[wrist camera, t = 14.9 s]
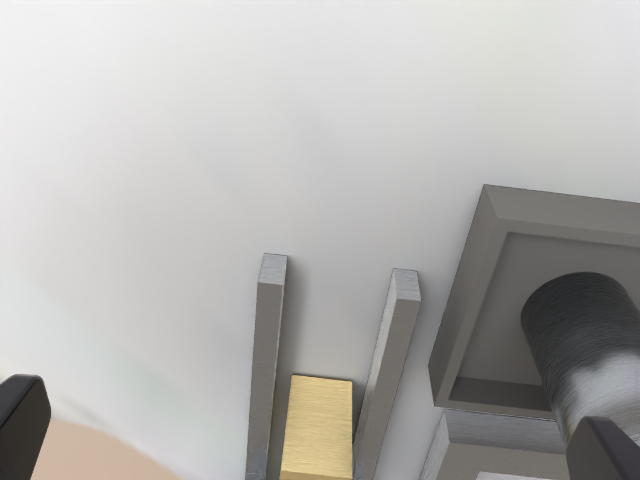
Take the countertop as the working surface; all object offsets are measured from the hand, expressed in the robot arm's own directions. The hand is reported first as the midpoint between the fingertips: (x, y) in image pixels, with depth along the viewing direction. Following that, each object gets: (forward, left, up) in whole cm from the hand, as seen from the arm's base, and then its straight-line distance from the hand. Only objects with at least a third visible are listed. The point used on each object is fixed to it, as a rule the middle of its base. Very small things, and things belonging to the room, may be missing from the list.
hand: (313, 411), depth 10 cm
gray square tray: (-11, +7, -14) cm, 19 cm away
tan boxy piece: (-1, +21, -14) cm, 25 cm away
